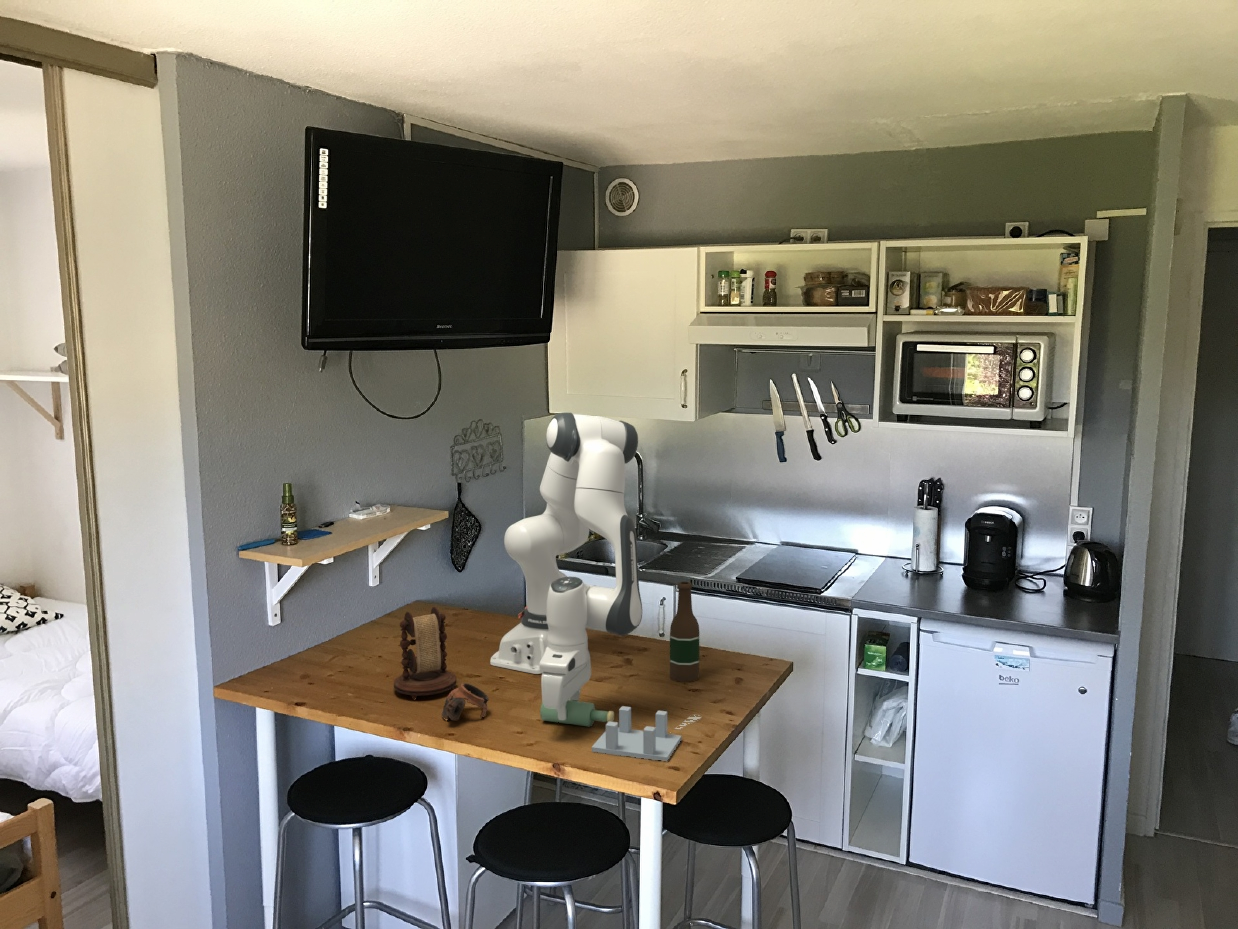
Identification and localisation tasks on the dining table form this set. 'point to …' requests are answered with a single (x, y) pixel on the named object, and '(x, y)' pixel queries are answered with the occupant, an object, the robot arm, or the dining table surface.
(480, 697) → the brown ring shaped device
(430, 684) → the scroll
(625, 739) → the rest
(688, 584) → the beer bottle
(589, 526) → the robot arm
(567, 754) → the dining table surface
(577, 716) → the bottle
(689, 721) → the butter knife
